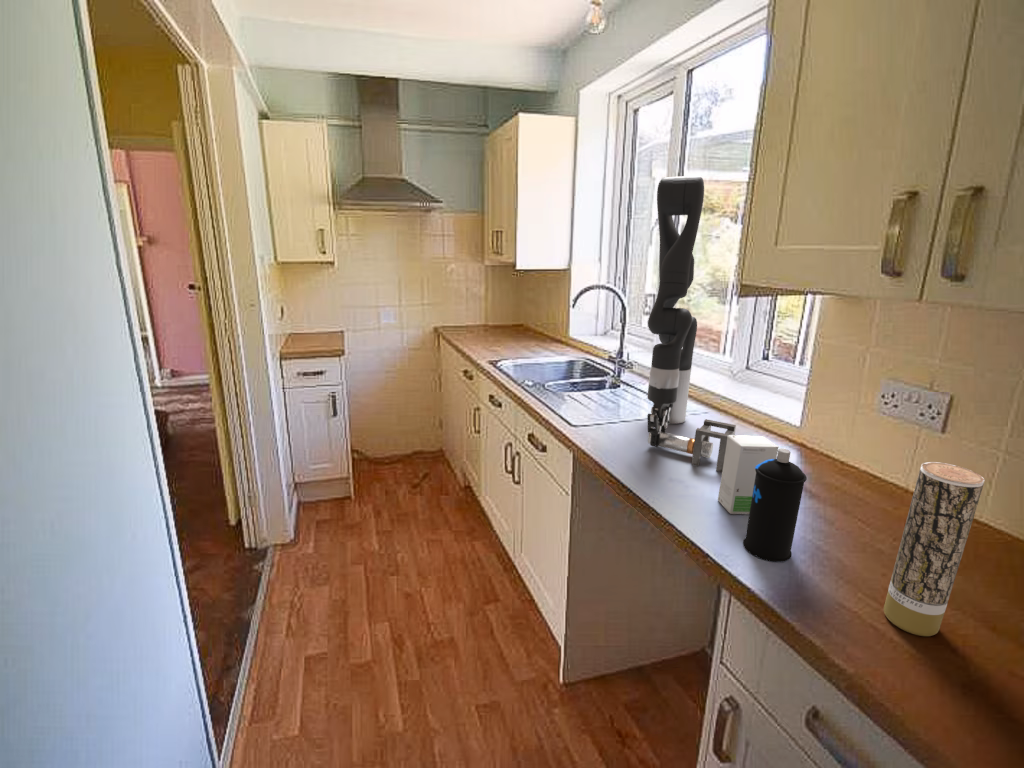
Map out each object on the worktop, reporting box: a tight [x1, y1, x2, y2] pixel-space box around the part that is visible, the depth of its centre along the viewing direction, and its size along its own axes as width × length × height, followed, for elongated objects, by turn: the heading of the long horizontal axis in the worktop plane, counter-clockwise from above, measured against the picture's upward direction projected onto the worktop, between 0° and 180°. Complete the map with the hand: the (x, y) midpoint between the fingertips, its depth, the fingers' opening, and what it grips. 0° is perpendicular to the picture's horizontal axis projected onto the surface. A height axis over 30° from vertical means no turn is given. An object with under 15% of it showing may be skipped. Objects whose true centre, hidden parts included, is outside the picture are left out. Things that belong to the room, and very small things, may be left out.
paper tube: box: [883, 461, 985, 637], centre depth 74 cm, size 7×7×25 cm
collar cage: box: [691, 418, 737, 473], centre depth 130 cm, size 10×8×10 cm
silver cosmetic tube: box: [647, 432, 714, 459], centre depth 135 cm, size 16×4×4 cm, turn 55°
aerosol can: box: [742, 448, 807, 563], centre depth 92 cm, size 8×8×20 cm
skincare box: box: [717, 434, 779, 515], centre depth 107 cm, size 8×7×16 cm
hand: (657, 443), depth 139 cm, fingers closed on silver cosmetic tube, 4 cm apart
